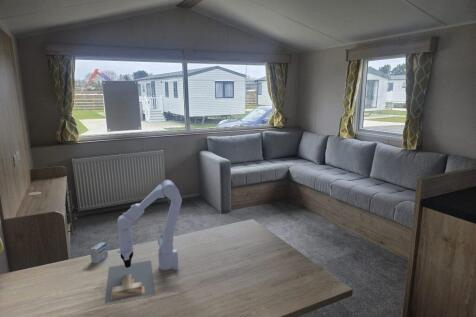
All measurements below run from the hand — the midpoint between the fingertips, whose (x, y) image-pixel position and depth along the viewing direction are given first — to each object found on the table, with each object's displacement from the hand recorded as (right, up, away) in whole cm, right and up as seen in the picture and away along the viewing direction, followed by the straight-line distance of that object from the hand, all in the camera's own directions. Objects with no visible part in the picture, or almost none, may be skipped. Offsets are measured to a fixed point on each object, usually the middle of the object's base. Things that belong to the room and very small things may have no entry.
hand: (128, 266), depth 148 cm
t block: (+4, -5, -11) cm, 13 cm away
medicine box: (-19, -2, +13) cm, 24 cm away
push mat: (+3, -5, -5) cm, 7 cm away
